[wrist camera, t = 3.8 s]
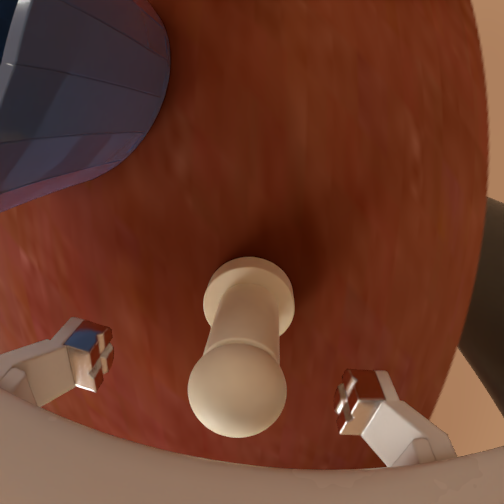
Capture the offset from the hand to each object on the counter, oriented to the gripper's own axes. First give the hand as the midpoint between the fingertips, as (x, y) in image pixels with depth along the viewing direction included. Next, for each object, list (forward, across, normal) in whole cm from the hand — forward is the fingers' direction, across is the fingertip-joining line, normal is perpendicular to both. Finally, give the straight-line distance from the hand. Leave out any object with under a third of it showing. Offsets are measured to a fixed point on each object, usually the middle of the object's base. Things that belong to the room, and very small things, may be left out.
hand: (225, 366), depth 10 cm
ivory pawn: (+5, -1, 0) cm, 5 cm away
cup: (+5, +9, -9) cm, 14 cm away
